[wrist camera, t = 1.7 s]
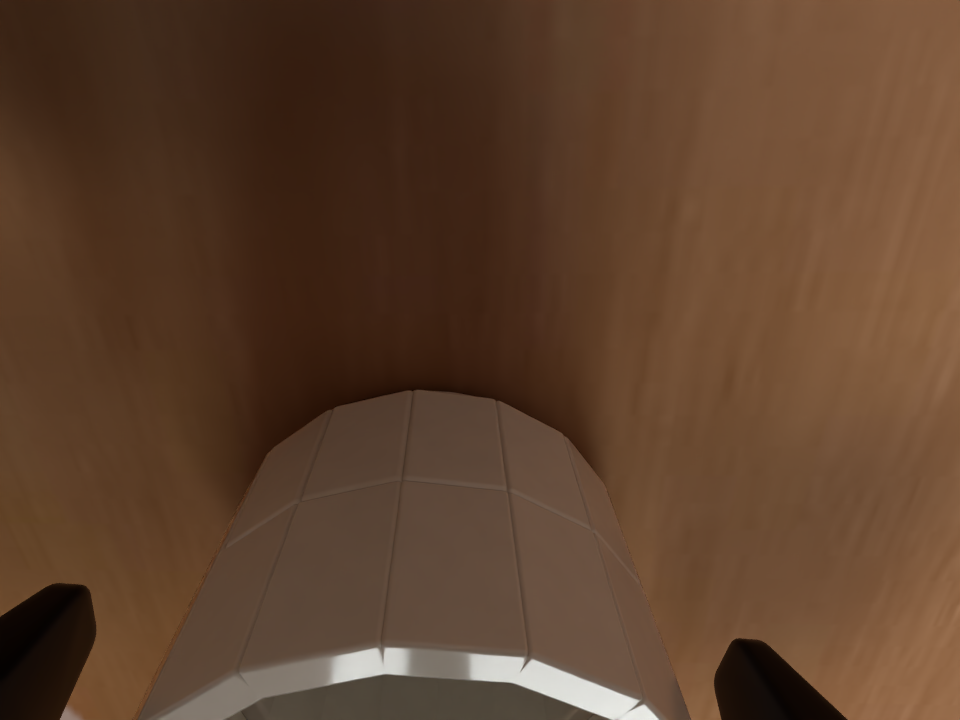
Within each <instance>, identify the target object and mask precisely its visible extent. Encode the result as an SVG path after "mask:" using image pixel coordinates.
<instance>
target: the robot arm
mask: <svg viewBox="0 0 960 720" xmlns="http://www.w3.org/2000/svg"><path fill="white" fill-rule="evenodd" d="M95 637H96V621H95V616H94V610H93V605H92V599H91V594H90V590H89V589H88V588H87V587H86V586H84V585H78V584H65V583H55V584H52V585H49V586H47V587H45V588H44V589H42V590H40V591H39V592H37V593H36V594H34V595H33V596H31V597H30V598H28V599H27V600H25V601H24V602H22V603H20V604H19V605H17V606H16V607H14V608H13V609H11V610H10V611H8V612H7V613H5V614H4V615H2V616H1V617H0V720H60V718H61V716H62V713H63V711H64V709H65V707H66V704H67V702H68V700H69V698H70V696H71V693H72V691H73V689H74V687H75V685H76V682H77V680H78V678H79V676H80V673H81V671H82V669H83V667H84V665H85V662H86V660H87V658H88V656H89V653H90V651H91V649H92V647H93V644H94V641H95ZM714 688H715V694H716V698H717V702H718V707H719V711H720V715H721V720H847V719H846V718H845V717H844V716H843V715H842V714H841V713H840V712H839V711H838V710H837V709H836V708H835V707H834V706H832V705H831V704H830V703H829V702H828V701H827V700H826V699H825V698H824V697H823V696H822V695H821V694H820V693H819V692H818V691H817V690H815V689H814V688H813V687H812V686H811V685H810V684H809V683H808V682H807V681H806V680H805V679H804V678H803V677H802V676H801V675H799V674H798V673H797V672H796V671H795V670H794V669H793V668H792V667H791V666H790V665H789V664H788V663H787V662H786V661H785V660H784V659H782V658H781V657H780V656H779V655H778V654H777V653H776V652H775V651H774V650H773V649H772V648H771V647H770V646H768V645H767V644H766V643H764V642H763V641H760V640H754V639H742V638H738V639H735V640H733V641H732V642H731V644H730V645H729V647H728V649H727V651H726V653H725V655H724V657H723V659H722V661H721V663H720V665H719V667H718V669H717V671H716V673H715V678H714Z"/></svg>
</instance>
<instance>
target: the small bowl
mask: <svg viewBox="0 0 960 720" xmlns="http://www.w3.org/2000/svg"><path fill="white" fill-rule="evenodd" d="M132 720H691V718H690V715H689V713H688V710H687V707H686V704H685V702H684V699H683V696H682V693H681V691H680V688H679V685H678V683H677V680H676V677H675V674H674V672H673V669H672V666H671V663H670V661H669V658H668V655H667V652H666V650H665V647H664V644H663V641H662V639H661V636H660V633H659V630H658V628H657V625H656V622H655V619H654V617H653V614H652V611H651V608H650V606H649V603H648V600H647V598H646V595H645V593H644V591H643V588H642V585H641V582H640V579H639V577H638V574H637V571H636V568H635V566H634V563H633V560H632V557H631V555H630V552H629V549H628V546H627V544H626V541H625V538H624V535H623V533H622V530H621V527H620V524H619V522H618V519H617V516H616V513H615V511H614V508H613V505H612V502H611V500H610V497H609V494H608V491H607V490H606V487H605V485H604V483H603V482H602V480H601V479H600V478H599V477H598V475H597V474H596V473H595V472H594V470H593V469H592V468H591V467H590V465H589V464H588V463H587V461H586V460H585V459H584V458H583V456H582V455H581V454H580V453H579V451H578V450H577V449H576V448H575V446H574V445H573V444H572V442H571V441H570V440H569V439H568V438H567V437H565V436H564V435H563V434H562V433H561V432H559V431H557V430H555V429H553V428H551V427H549V426H548V425H546V424H544V423H542V422H540V421H538V420H536V419H534V418H532V417H530V416H528V415H526V414H525V413H523V412H521V411H519V410H517V409H515V408H513V407H511V406H509V405H507V404H505V403H503V402H502V401H498V400H497V401H495V400H494V399H492V398H484V397H476V396H471V395H466V394H460V393H455V392H443V391H427V390H419V389H417V390H414V391H411V390H407V391H402V392H398V393H394V394H389V395H383V396H379V397H375V398H371V399H367V400H363V401H358V402H354V403H349V404H345V405H341V406H337V407H335V408H334V409H333V410H328V411H326V412H324V413H323V414H321V415H320V416H319V417H317V418H316V419H314V420H313V421H311V422H310V423H308V424H307V425H305V426H304V427H303V428H301V429H300V430H298V431H297V432H295V433H294V434H292V435H291V436H290V437H288V438H287V439H285V440H284V441H282V442H281V443H279V444H278V445H276V446H275V447H274V448H272V450H271V451H270V452H268V453H267V455H266V456H265V458H264V460H263V462H262V464H261V465H260V467H259V469H258V471H257V473H256V474H255V476H254V478H253V480H252V482H251V483H250V485H249V487H248V489H247V491H246V492H245V494H244V496H243V498H242V500H241V501H240V503H239V505H238V507H237V509H236V511H235V513H234V515H233V517H232V519H231V521H230V523H229V525H228V527H227V529H226V532H225V534H224V536H223V538H222V540H221V542H220V544H219V546H218V548H217V550H216V552H215V554H214V556H213V558H212V560H211V562H210V564H209V566H208V568H207V570H206V572H205V574H204V576H203V578H202V580H201V582H200V584H199V586H198V588H197V590H196V592H195V594H194V596H193V598H192V600H191V602H190V604H189V606H188V609H187V611H186V613H185V614H184V616H183V618H182V620H181V622H180V624H179V626H178V628H177V630H176V632H175V634H174V636H173V638H172V640H171V642H170V644H169V646H168V648H167V650H166V652H165V654H164V657H163V659H162V661H161V663H160V665H159V667H158V669H157V671H156V673H155V675H154V677H153V679H152V681H151V683H150V685H149V687H148V689H147V691H146V693H145V695H144V697H143V699H142V701H141V703H140V705H139V707H138V709H137V711H136V713H135V715H134V717H133V719H132Z"/></svg>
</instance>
